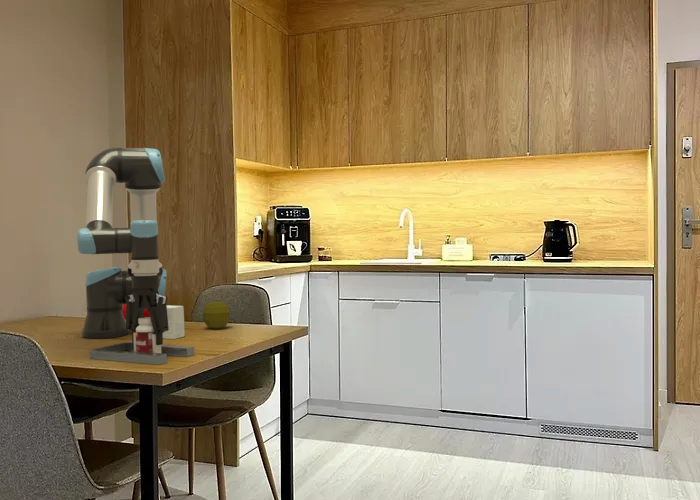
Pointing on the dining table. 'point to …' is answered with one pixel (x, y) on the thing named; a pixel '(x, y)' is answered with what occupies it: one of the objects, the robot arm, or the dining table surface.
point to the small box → (175, 322)
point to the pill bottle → (144, 335)
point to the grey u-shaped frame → (139, 353)
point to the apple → (216, 315)
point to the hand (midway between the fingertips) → (147, 355)
